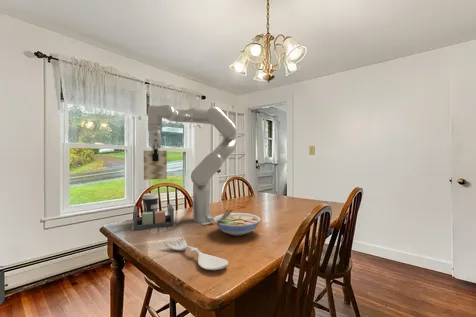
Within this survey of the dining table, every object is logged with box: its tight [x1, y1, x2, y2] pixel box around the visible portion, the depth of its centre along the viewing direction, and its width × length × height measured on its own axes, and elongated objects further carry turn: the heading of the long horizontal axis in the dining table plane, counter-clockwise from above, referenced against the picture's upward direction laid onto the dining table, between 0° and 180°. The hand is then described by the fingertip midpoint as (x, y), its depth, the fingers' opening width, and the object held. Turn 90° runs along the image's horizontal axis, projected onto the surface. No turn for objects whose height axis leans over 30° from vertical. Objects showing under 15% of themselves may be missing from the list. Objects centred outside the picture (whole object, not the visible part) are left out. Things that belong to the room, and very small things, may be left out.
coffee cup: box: [141, 192, 160, 217], centre depth 139 cm, size 10×10×15 cm
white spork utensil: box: [163, 236, 229, 271], centre depth 86 cm, size 9×32×4 cm, turn 45°
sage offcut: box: [141, 211, 153, 225], centre depth 119 cm, size 5×4×7 cm
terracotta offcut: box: [155, 210, 166, 224], centre depth 122 cm, size 5×4×7 cm
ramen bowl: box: [213, 209, 261, 237], centre depth 113 cm, size 25×23×8 cm
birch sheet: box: [143, 150, 168, 181], centre depth 130 cm, size 12×2×16 cm, turn 113°
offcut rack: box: [130, 203, 177, 232], centre depth 123 cm, size 21×14×10 cm, turn 113°
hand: (155, 160), depth 130 cm, fingers closed on birch sheet, 2 cm apart
